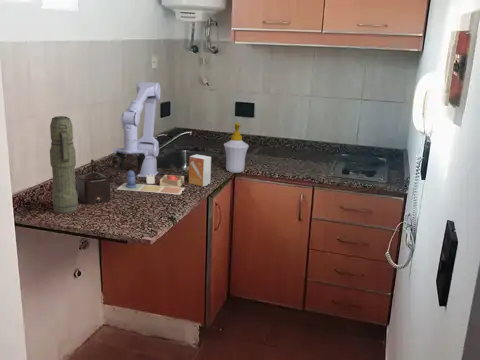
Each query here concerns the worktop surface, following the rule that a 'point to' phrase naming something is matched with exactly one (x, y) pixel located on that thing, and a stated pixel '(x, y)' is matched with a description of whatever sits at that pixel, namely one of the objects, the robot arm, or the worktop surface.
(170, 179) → the dome button
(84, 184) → the dark brown coffee grinder
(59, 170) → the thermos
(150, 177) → the ivory die
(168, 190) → the game mat
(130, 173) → the pawn
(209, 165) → the small box
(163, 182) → the frame
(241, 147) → the soap bottle
